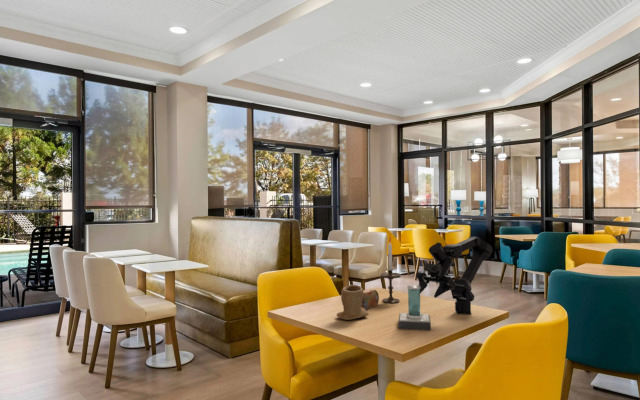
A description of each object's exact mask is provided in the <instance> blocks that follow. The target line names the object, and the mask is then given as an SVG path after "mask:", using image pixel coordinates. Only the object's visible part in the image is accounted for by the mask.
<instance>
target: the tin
mask: <svg viewBox="0 0 640 400" xmlns="http://www.w3.org/2000/svg"><path fill="white" fill-rule="evenodd" d="M363 293H364V296H363V300H362V305H361V308H365V310H366V311H367V310H371V309H374V308H375V307H377V306H378V305H379V300H380V295H379V293H378V291H377V289H376V290H375V289H372V290H371V289H370V290H367V291H365V292H364V291H363Z"/></svg>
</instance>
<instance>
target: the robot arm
mask: <svg viewBox="0 0 640 400" xmlns="http://www.w3.org/2000/svg"><path fill="white" fill-rule="evenodd" d="M442 244H443V243H441V242H439V241H438V242H436V243H434V244H432V245H431V246H430V247H429V248H428V252H429V254H430V255H431V257H432V258H433V259H434V261H435V262H436V263H435V264H434V263H427V262H425V263H424V266H423V271H426V272H427V273H426V272H421V271H417V272H416V274H415V278H416V279H417V280H418V286H420V287H421V289H420V294H422V293H423V292H424V290H425V289H426V288H427V287H428V284H430V282H432V283H437V284H438V287H437V289H436V290H435V292H434V295H433V297H434V298H435V299H436V298H438V297H439V296H441V295H443V294H444V293H447V292H448V291H450V292H451V296H452V299H453V300H455V302H454V310H455V311H454V312H456V314H458V315H459V314H460V315H472V310H471V309H472V308H471V307H472V305H471V304H472V302H474V301H475V294H474V293H473V292H472V282H473V280H474V279H475V277H476V275H477V273H478V271H479V269H480V268H481V265H482V264H483V262H484V261H485V260H487V259H488V258H490V256H491V255H492V253H493V251H494V250H493V249H494V248H493V246H491V244H490V243H488V242H487V241H485V240H484V239H483V240H482V239H481V238H480V237H478V236H469V237H468V238H466V239H463V240H462V241H459V242H457V243H455V244H454V243H453V244H452V243H451V244H445V245H444V246H443V245H442ZM470 249H471V250H472V257H471V259H470V261H469V263H468V265H467V267H466V268H465V270H464V272H463V274H462V275H461V278H455V279H454V280H453V277H451V276H449V273H448V272H449V270H450V269H451V267H455V266H456V264H455V261H454V260H453V259H458V258H460V257H461V256H462V255H463V253H464V252H465V251H468V250H470ZM427 274H428V275H427Z"/></svg>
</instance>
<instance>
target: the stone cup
mask: <svg viewBox="0 0 640 400" xmlns="http://www.w3.org/2000/svg"><path fill="white" fill-rule="evenodd" d="M340 294H341V295H340V299H341V303H342V306H343V311H340V312H338V313H336V317H337V318H339V319H341V320H346V321H348V320H355V319H359V318H363V317H366V316H369V312H368V311H367V309H365V308H362V307H361V305H362V300H363V296H364V289H363V288H362V286H361V285H359V284H358V285H357V284H349V285H346V286H344V287H343V288H342V289H341V293H340Z"/></svg>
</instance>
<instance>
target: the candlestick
mask: <svg viewBox="0 0 640 400" xmlns="http://www.w3.org/2000/svg"><path fill="white" fill-rule="evenodd" d="M391 238H392V237H391V236H390V237H389V239H388V241H389V243H388V246H387V251H388V252H387V253H388V254H387V255H388V269H386V271H388V272H385V273H380V274H379V276H380V278H382V279H387V280H389V282H388V283H389V284H388V285H389V286H387V288H388V293H389V297H386V298H383V299H381V300H382V303H383V304H384V303H385V304H393V305H394V304H398V303H400V299H399V298H394V297H393V293H394V291H393V289H394V286H393V280H394V279H398V278H399V279H400V278H401V277H402V275H401V274H400V273H397V272H396V273H395V272H393V271H394V269H393V252H392V251H393V247H392V246H393V244H391V242H392V241H391Z"/></svg>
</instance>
